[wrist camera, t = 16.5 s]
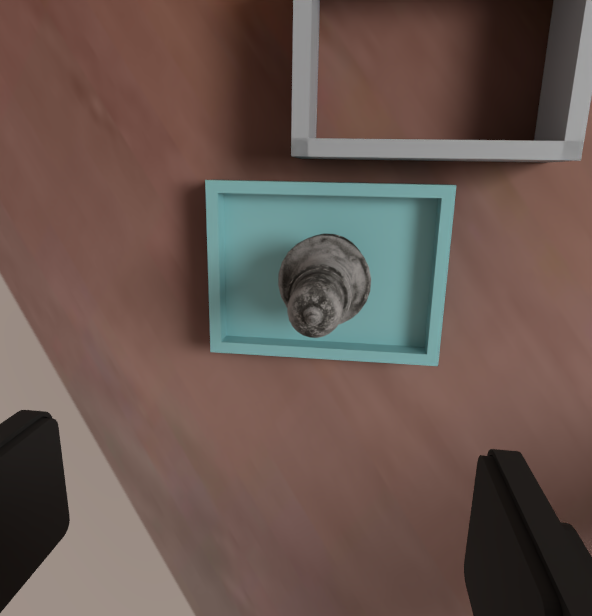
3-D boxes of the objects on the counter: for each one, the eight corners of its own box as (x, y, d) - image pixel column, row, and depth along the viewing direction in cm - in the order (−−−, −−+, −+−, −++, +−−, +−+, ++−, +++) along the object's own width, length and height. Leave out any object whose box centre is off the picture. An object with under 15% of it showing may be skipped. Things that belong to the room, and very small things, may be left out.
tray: (449, 184, 33) (456, 185, 30) (432, 353, 36) (437, 366, 33) (215, 179, 34) (205, 180, 32) (220, 340, 38) (210, 352, 35)
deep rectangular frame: (576, -34, 29) (619, -76, 24) (547, 162, 32) (580, 160, 27) (304, -26, 30) (294, -63, 26) (300, 158, 33) (291, 156, 29)
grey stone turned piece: (385, 251, 33) (398, 293, 22) (347, 325, 35) (341, 399, 24) (307, 214, 33) (279, 236, 22) (272, 290, 35) (230, 347, 24)
